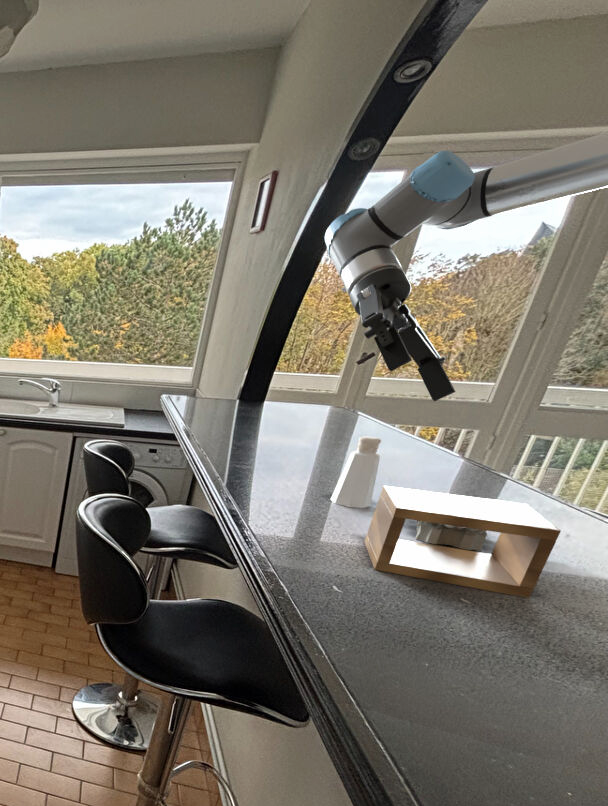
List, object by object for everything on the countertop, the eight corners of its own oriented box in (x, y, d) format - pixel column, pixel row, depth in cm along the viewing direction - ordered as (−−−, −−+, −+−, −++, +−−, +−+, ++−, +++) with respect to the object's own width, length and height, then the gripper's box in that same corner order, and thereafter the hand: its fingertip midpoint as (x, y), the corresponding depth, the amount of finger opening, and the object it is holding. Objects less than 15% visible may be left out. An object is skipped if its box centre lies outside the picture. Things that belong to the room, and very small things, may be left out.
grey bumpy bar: (415, 522, 90) (424, 496, 88) (482, 535, 85) (493, 508, 83) (409, 540, 83) (419, 512, 81) (482, 555, 78) (494, 526, 76)
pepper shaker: (322, 498, 100) (341, 434, 96) (351, 497, 101) (371, 434, 97) (348, 509, 95) (369, 441, 91) (378, 508, 96) (401, 441, 92)
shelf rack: (500, 564, 75) (527, 503, 72) (529, 598, 66) (561, 530, 63) (364, 542, 82) (383, 485, 79) (374, 570, 73) (396, 507, 70)
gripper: (388, 327, 108) (432, 420, 99) (310, 269, 98) (351, 366, 88) (437, 298, 102) (490, 394, 93) (360, 234, 92) (410, 334, 82)
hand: (422, 381), depth 91 cm, fingers open, 13 cm apart
